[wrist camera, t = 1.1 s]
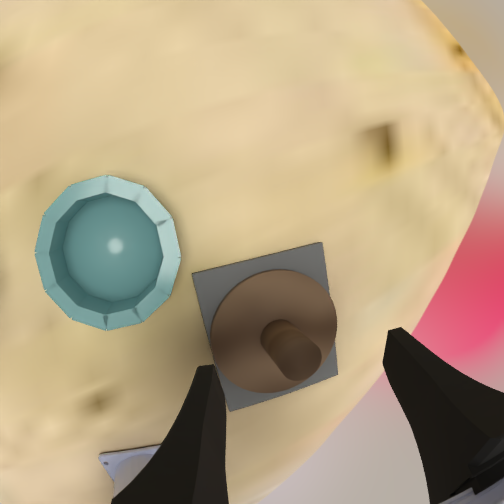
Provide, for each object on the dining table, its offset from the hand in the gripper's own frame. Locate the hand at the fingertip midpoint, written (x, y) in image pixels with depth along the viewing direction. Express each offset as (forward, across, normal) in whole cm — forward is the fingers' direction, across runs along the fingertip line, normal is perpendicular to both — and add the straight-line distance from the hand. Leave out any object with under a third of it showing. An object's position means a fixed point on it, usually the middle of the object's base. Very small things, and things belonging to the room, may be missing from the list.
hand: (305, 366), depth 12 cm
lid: (+10, +1, +7) cm, 12 cm away
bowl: (+11, +11, -2) cm, 15 cm away
